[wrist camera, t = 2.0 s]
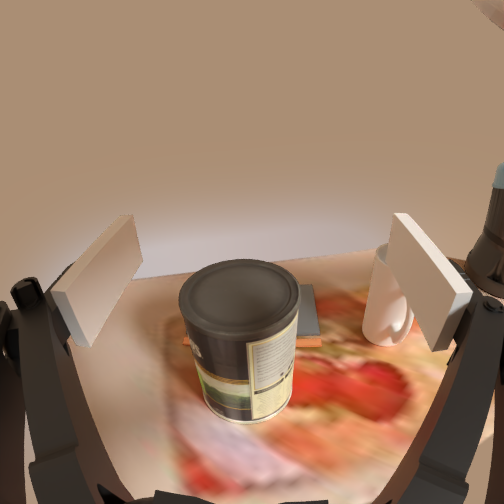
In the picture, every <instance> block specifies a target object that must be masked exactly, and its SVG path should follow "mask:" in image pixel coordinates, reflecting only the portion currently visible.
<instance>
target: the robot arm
mask: <svg viewBox="0 0 504 504" xmlns="http://www.w3.org/2000/svg"><path fill="white" fill-rule="evenodd" d="M471 1H472V2H473V3H474V4H475V6H476V7H477V8H478V9H479V10H480V11H481V12H482V13H483V14H484V15H485V16H486V17H488V18H489V19H490V20H491V21H492V22H494V23H495V24H496V25H497V26H498V27H500V28H501V29H503V30H504V0H471ZM492 186H493V190H492V196H491V200H490V205H489V209H488V214H487V217H486V221H485V225H484V229H483V232H482V234H481V236H480V237H479V239H478V240H477V242H476V244H475V246H474V248H473V249H472V250H471V251H470V252H469V254H468V257H467V259H466V262H465V271H466V273H467V274H465V272H464V271H463V269H462V268H461V267H460V266H459V265H458V264H456V263H455V262H454V261H452V260H448V259H447V258H446V257H445V256H444V255H443V254H442V252H441V251H440V250H439V249H438V247H437V246H436V245H435V244H434V243H433V242H432V241H431V239H430V238H429V237H428V236H427V235H426V234H425V233H424V231H423V230H422V229H421V228H420V227H419V226H418V225H417V224H416V223H415V221H414V220H413V219H412V218H411V217H410V216H409V215H408V214H407V213H394V215H393V221H392V228H391V233H390V239H389V244H388V250H387V255H386V260H385V261H386V263H387V265H388V267H389V268H390V270H391V272H392V274H393V276H394V277H395V279H396V281H397V283H398V285H399V287H400V289H401V290H402V292H403V294H404V296H405V298H406V300H407V302H408V304H409V306H410V308H411V310H412V312H413V314H414V316H415V318H416V320H417V322H418V324H419V326H420V328H421V330H422V332H423V334H424V336H425V339H426V341H427V343H428V345H429V347H430V350H431V352H434V351H441V350H447V349H448V347H449V345H450V343H451V341H452V339H454V340H455V342H456V344H457V346H456V348H455V350H454V352H453V354H452V355H451V357H450V359H449V361H448V363H447V365H448V368H447V370H446V373H445V375H444V378H443V380H442V382H441V385H440V387H439V389H438V392H437V394H436V396H435V399H434V401H433V403H432V405H431V407H430V409H429V411H428V413H427V415H426V417H425V420H424V422H423V423H422V425H421V427H420V429H419V431H418V433H417V435H416V437H415V439H414V440H413V442H412V444H411V446H410V448H409V449H408V451H407V453H406V455H405V456H404V458H403V460H402V461H401V463H400V465H399V466H398V468H397V469H396V471H395V473H394V474H393V476H392V477H391V479H390V480H389V482H388V483H387V485H386V486H385V488H384V489H383V491H382V492H381V493H380V495H379V496H378V497H377V498H376V499H375V500H374V501H373V502H372V504H463V502H464V500H465V498H466V496H467V493H468V490H469V484H468V483H466V482H465V478H466V475H467V472H468V470H469V467H470V465H471V462H472V460H473V457H474V455H475V452H476V449H477V446H478V444H479V441H480V438H481V435H482V432H483V428H484V425H485V422H486V419H487V415H488V412H489V408H490V404H491V400H492V396H493V392H494V388H495V418H494V438H493V451H492V461H491V469H490V476H489V483H488V489H487V495H486V500H485V504H504V306H503V304H502V303H501V302H500V301H498V300H497V299H495V298H493V297H489V296H483V295H482V294H481V292H480V291H479V290H478V288H477V287H476V286H475V284H476V285H477V286H478V287H480V288H481V289H483V290H484V291H486V292H488V293H490V294H492V295H494V296H497V297H500V298H504V163H501V164H500V165H499V166H498V167H497V171H496V175H495V180H494V183H493V184H492ZM142 262H143V259H142V255H141V251H140V246H139V241H138V237H137V232H136V227H135V223H134V217H133V215H122V216H119V217H118V218H117V219H116V220H115V221H114V222H113V223H112V224H111V225H110V226H109V227H108V228H107V229H106V230H105V231H104V232H103V233H102V234H101V235H100V236H99V237H98V238H97V240H95V241H94V242H93V244H92V245H91V246H90V247H89V248H88V249H87V250H86V251H85V252H84V253H83V254H82V255H81V256H80V257H79V258H78V259H77V261H75V262H74V263H72V264H71V265H70V266H68V267H67V268H66V269H65V270H64V271H63V272H62V275H60V276H59V277H58V278H57V280H55V281H54V282H53V284H52V285H51V286H50V287H49V288H48V289H47V291H46V292H45V293H43V291H42V289H41V286H40V284H39V282H38V280H37V278H35V277H28V278H25V279H23V280H21V281H19V282H18V283H16V284H15V285H14V286H13V287H12V289H11V291H10V293H11V295H12V297H13V299H14V301H15V303H16V305H17V307H18V309H17V310H11V311H10V310H9V308H8V306H7V304H6V302H4V301H0V504H26V493H25V477H24V428H25V412H26V414H27V419H28V425H29V431H30V435H31V440H32V445H33V449H34V453H35V461H34V462H31V463H30V464H29V467H28V468H29V474H30V478H31V482H32V485H33V488H34V492H35V495H36V498H37V501H38V504H214V503H211V502H208V501H205V500H203V499H200V498H197V497H193V496H186V495H180V494H174V493H169V492H164V491H159V490H155V494H154V497H149V498H142V499H137V500H134V498H133V497H132V496H131V494H130V493H129V492H128V490H127V489H126V488H125V487H124V485H123V484H122V482H121V481H120V479H119V477H118V475H117V473H116V471H115V469H114V467H113V465H112V463H111V461H110V458H109V456H108V454H107V452H106V450H105V447H104V445H103V443H102V440H101V438H100V436H99V433H98V431H97V428H96V426H95V423H94V421H93V418H92V416H91V413H90V410H89V407H88V405H87V402H86V399H85V396H84V393H83V390H82V387H81V384H80V381H79V378H78V374H77V371H76V368H75V364H74V361H73V357H72V353H71V350H70V347H69V345H68V343H67V339H68V338H69V336H70V335H71V336H72V338H73V340H74V342H75V344H76V345H78V346H84V347H89V348H91V346H92V344H93V343H94V341H95V339H96V337H97V335H98V334H99V332H100V330H101V328H102V327H103V325H104V323H105V322H106V320H107V318H108V316H109V315H110V313H111V311H112V310H113V308H114V306H115V305H116V303H117V301H118V300H119V298H120V297H121V295H122V293H123V292H124V290H125V289H126V287H127V285H128V284H129V282H130V281H131V279H132V277H133V276H134V274H135V273H136V271H137V269H138V268H139V266H140V265H141V263H142ZM467 275H468V276H467ZM470 279H471V280H472V281H473V282H474V283H475V284H474V283H473V282H472V281H471V280H470ZM3 351H4V353H5V356H4V354H3ZM280 504H328V500H321V501H306V502H284V503H280Z"/></svg>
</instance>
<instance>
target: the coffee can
mask: <svg viewBox="0 0 504 504" xmlns="http://www.w3.org/2000/svg"><path fill="white" fill-rule="evenodd" d="M300 302H301V289H300V285H299V283H298V281H297V280H296V278H295V277H294V276H293V275H292V274H291V273H290V272H288V271H287V270H285V269H284V268H282V267H280V266H278V265H275V264H273V263H269V262H265V261H260V260H253V259H236V260H228V261H223V262H219V263H215V264H212V265H209V266H207V267H205V268H203V269H201V270H199V271H198V272H196V273H195V274H193V275H192V276H191V277H190V278H189V279H188V280H187V281H186V282H185V283H184V285H183V286H182V288H181V290H180V293H179V307H180V310H181V313H182V315H183V317H184V321H185V325H186V330H187V333H188V338H189V341H190V346H191V349H192V353H193V357H194V361H195V365H196V368H197V372H198V375H199V379H200V383H201V386H202V390H203V396H204V399H205V402H206V403H207V405H208V407H209V408H210V409H211V410H212V411H213V412H214V413H215V414H216V415H217V416H219V417H220V418H222V419H224V420H227V421H229V422H233V423H238V424H255V423H260V422H263V421H266V420H268V419H271V418H272V417H274V416H276V415H277V414H278V413H279V412H281V411H282V410H283V409H284V408H285V407H286V405H287V403H288V401H289V400H290V397H291V393H292V378H293V368H294V358H295V346H296V334H297V322H298V309H299V306H300Z"/></svg>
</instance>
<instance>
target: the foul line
mask: <svg viewBox="0 0 504 504" xmlns="http://www.w3.org/2000/svg"><path fill="white" fill-rule="evenodd" d="M183 345H190V341H189V338H188V337H184V341H183ZM321 346H322V344H321V338H317V339H296V346H295V347H321Z"/></svg>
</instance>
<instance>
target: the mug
mask: <svg viewBox="0 0 504 504" xmlns="http://www.w3.org/2000/svg"><path fill="white" fill-rule="evenodd" d="M388 244H389V243H387V244H383V245H381V246H380V247H378V248H377V250H376V255H375V260H374V265H373V271H372V277H371V283H370V289H369V294H368V299H367V304H366V309H365V314H364V320H363V325H362V332H363V334H364V336H365V337H366V339H367V340H369V341H370V342H371V343H373V344H375V345H378V346H383V347H389V346H394V345H396V344H398V343H401V342H402V341H403V339H404V338H405V337H406V335H407V334H408V332H409V330H410V328H411V325H412V322H413V318H414V314H413V312H412V310H411V308H410V306H409V304H408V302H407V300H406V298H405V296H404V294H403V292H402V290H401V289H400V287H399V285H398V283H397V281H396V279H395V277H394V276H393V274H392V272H391V270H390V268H389V267H388V265H387V263H386V261H385V260H386V255H387V250H388Z"/></svg>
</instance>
